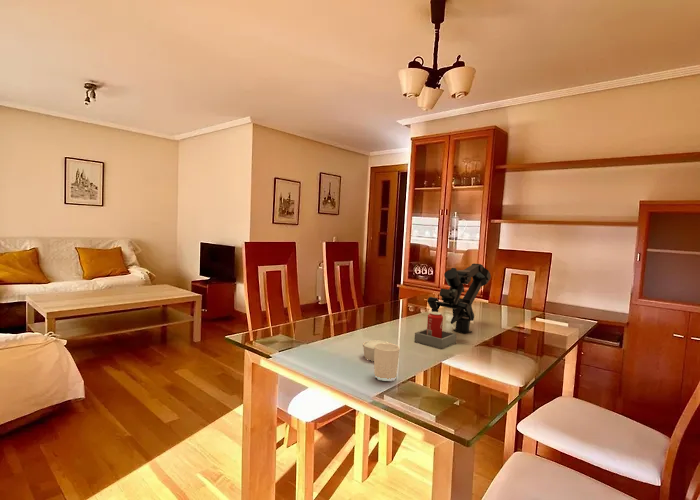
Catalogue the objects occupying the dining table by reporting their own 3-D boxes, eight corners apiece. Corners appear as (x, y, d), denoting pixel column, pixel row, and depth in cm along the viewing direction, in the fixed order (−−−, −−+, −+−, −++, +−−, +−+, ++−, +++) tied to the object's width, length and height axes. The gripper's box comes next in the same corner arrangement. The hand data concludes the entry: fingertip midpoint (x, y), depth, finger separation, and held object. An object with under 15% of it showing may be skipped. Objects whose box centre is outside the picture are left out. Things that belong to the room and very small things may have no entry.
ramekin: (362, 352, 141) (362, 338, 141) (391, 354, 141) (392, 340, 141) (362, 363, 130) (362, 348, 130) (394, 365, 130) (395, 350, 130)
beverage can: (444, 342, 158) (446, 314, 157) (431, 343, 156) (432, 314, 155) (436, 338, 164) (438, 311, 163) (423, 338, 162) (425, 311, 161)
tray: (429, 336, 168) (429, 327, 168) (455, 343, 160) (456, 334, 160) (414, 342, 159) (415, 332, 158) (441, 349, 150) (442, 339, 150)
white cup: (371, 373, 121) (372, 342, 121) (395, 373, 122) (396, 343, 121) (374, 383, 113) (376, 350, 113) (400, 383, 114) (402, 351, 114)
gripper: (430, 279, 171) (416, 306, 164) (469, 284, 159) (456, 314, 151) (437, 294, 178) (424, 321, 170) (475, 300, 166) (463, 330, 158)
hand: (441, 321), depth 162 cm, fingers open, 9 cm apart
